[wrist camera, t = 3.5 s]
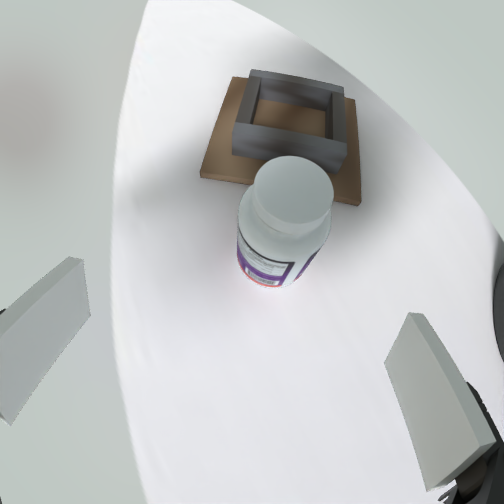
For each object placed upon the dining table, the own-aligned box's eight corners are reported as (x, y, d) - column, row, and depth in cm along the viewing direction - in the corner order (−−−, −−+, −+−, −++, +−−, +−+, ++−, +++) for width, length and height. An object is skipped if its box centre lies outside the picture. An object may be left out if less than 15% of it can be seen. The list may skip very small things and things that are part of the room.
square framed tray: (352, 104, 31) (362, 80, 27) (357, 205, 26) (374, 183, 22) (232, 81, 31) (233, 55, 27) (200, 177, 26) (196, 149, 22)
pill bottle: (287, 215, 25) (315, 135, 16) (317, 273, 23) (367, 215, 14) (225, 237, 24) (222, 161, 15) (253, 300, 22) (268, 255, 13)
